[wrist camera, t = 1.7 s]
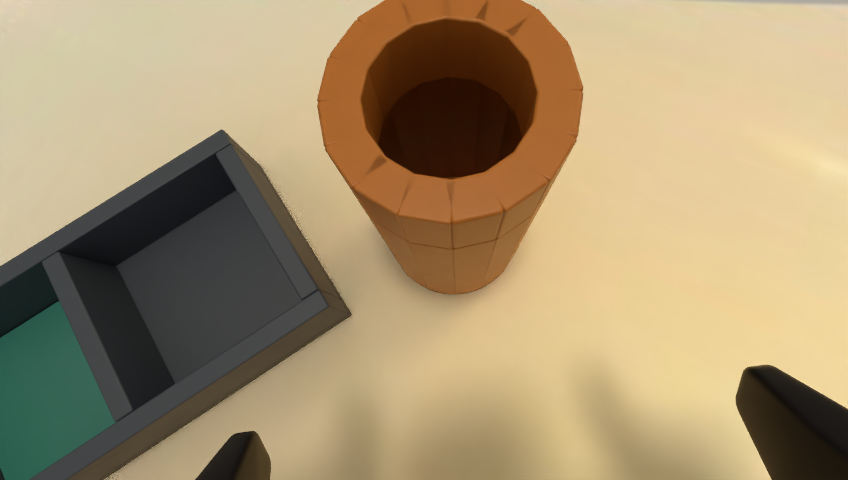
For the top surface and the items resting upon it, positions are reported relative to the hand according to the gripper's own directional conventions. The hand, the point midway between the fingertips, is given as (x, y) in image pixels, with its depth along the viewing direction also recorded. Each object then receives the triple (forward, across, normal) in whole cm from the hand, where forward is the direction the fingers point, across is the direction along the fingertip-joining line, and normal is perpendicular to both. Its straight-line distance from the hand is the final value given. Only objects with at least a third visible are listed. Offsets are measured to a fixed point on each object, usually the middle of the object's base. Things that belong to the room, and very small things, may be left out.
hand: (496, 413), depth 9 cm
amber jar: (+14, 0, +4) cm, 14 cm away
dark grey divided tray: (+12, +15, +6) cm, 20 cm away
